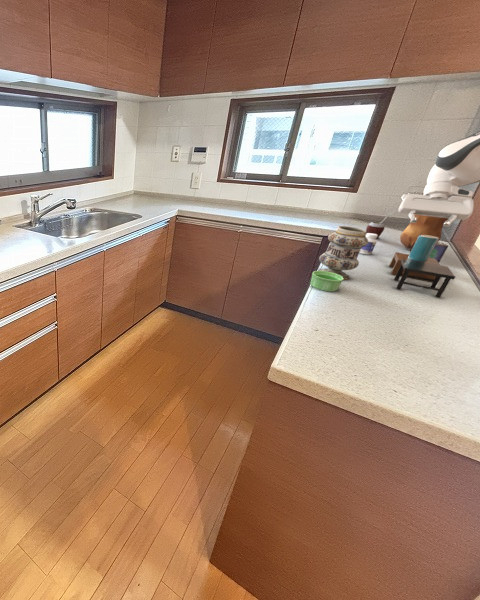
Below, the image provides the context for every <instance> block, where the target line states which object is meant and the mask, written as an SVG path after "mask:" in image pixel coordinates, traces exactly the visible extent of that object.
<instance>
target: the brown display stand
mask: <svg viewBox="0 0 480 600" xmlns="http://www.w3.org/2000/svg"><path fill="white" fill-rule="evenodd" d="M408 256H409V254H407V253H402V252H395V253H394V254H393V257H392V258H391V261H390V263H389V265H388V267H389V268H391V272H390V275H391V276H392V275H393V276H396V274H397V272H398V270H399V268H400V266H401V264H402V263H401V260H402V259H406V260H411V259H409V258H408ZM412 261H415V260H412ZM418 262H421V261H418ZM424 263H430V264H436V265H441V264H440V262H439V263H438V261H437V260H436V259H433V258H428V260H427V261H426V262H424ZM404 272H405V271H404V270H403V272H402V274H404ZM408 275H411V276H417V277H422V278H427V279H433V280H435V278H436V276H432V275H426V274H421V273H415V272H409V274H408ZM407 278H408V279H412V280H413V279H414V280H417V281H424V282H429V283H433V282H432V281H427V280H422V279H416V278H411V277H407Z"/></svg>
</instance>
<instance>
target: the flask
mask: <svg viewBox="0 0 480 600" xmlns="http://www.w3.org/2000/svg"><path fill="white" fill-rule="evenodd" d="M448 248H449V245H448V244H446V243H443V242H440V241H438V242H437V243H436V245H435V247H434V248H433V250H432V252H431V254H430V256H429V258H433V259H436V260H437V261H438V263H439V264H440V262H441V260H442V258H443V256H444V255H445V253H446V251H447V249H448Z"/></svg>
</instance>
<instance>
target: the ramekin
mask: <svg viewBox="0 0 480 600" xmlns="http://www.w3.org/2000/svg"><path fill="white" fill-rule="evenodd" d="M344 280H345V279H344V278H343V277H342V276H340V275H338V274H335V273H332V272H327V271H318V270H314V271H312V273H311V279H310V286H311V287H313V288H315V289H317V290H320V291H325V292H336V291H338V289H339V287H340V286H341V284H342V282H343V281H344Z"/></svg>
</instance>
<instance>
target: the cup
mask: <svg viewBox="0 0 480 600" xmlns="http://www.w3.org/2000/svg"><path fill="white" fill-rule="evenodd" d="M438 239H439V238H438V237H435V236H430V235H419V236H418V238H417V240H416V242H415V244H414V246H413V248H412V250H410V252H409V254H408V255H409V256H408V258H409V259H411V260H415V261H421V262H426V261H427V260H428V258H429V256H430V254H431V252H432V250H433V248H434V247H435V245H436V243H437V241H438ZM438 242H439V241H438Z"/></svg>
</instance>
